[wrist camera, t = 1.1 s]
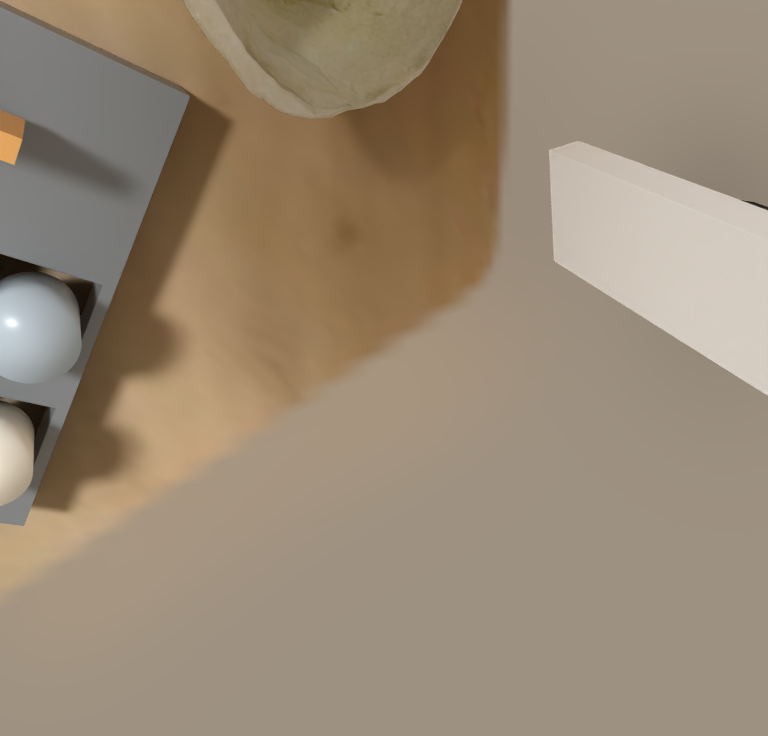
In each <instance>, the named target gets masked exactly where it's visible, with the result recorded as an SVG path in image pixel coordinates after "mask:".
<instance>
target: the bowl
mask: <svg viewBox="0 0 768 736" xmlns="http://www.w3.org/2000/svg"><path fill="white" fill-rule="evenodd" d="M183 1H184V3H185V5H186V7H187V9H188V10H189V12H190V14H191V16H192V17H193V19H194V20H195V22H196V23H197V24H198V25H199V27H200V28H201V29H202V31H203V32H204V34H205V35H206V37H207V38H208V40H209V41H210V42H211V43H212V44H213V46H214V47H215V48H216V49H217V50H218V52H219V53H220V54H221V55H222V56H223V57H224V58H225V60H226V61H227V62H228V64H229V65H230V66H231V68H232V69H233V70H234V72H235V73H236V74H237V76H238V77H239V78H240V80H241V81H242V83H243V84H244V85H245V87H246V88H247V90H248V91H250V92H251V93H252V94H254V95H255V96H256V97H258V98H259V99H264V100H265V101H266V102H267V103H268V104H270V105H271V106H272V107H273V108H275V109H277V110H279V111H281V112H283V113H285V114H288V115H292V116H296V117H301V118H310V119H321V118H332V117H334V116H336V115H338V114H340V113H343V112H345V111H348V110H354V109H360V108H365V107H368V106H370V105H373V104H377V103H383V102H385V101H387V100H388V99H389V98H391V97H392V96H393V95H395V94H396V93H398V92H400V91H401V90H402V89H404V88H405V87H406V86H407V85H408V84H409V83H410V82H411V81H412V80H414V79H415V78H416V77H418V76H419V75H421V73H422V72H423V70H424V69H425V68H426V66H427V65H428V63H429V62H430V60H431V58H432V56H433V55H434V53H435V51H436V50H437V48H438V46H439V45H440V43H441V41H442V40H443V38H444V36H445V35H446V33H447V32H448V30H449V28H450V26H451V24H452V22H453V20H454V18H455V16H456V14H457V13H458V11H459V8H460V6H461V3H462V1H463V0H183Z"/></svg>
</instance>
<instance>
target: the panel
mask: <svg viewBox="0 0 768 736" xmlns="http://www.w3.org/2000/svg"><path fill="white" fill-rule="evenodd" d="M189 99H190V95H189V94H188V93H187V92H186V91H185V90H184V89H183V88H182V87H181V86H179V85H177V84H174V83H172V82H170V81H168V80H166V79H164V78H162V77H160V76H158V75H155V74H153V73H151V72H149V71H147V70H145V69H143V68H141V67H139V66H136V65H134V64H132V63H130V62H128V61H126V60H124V59H122V58H120V57H117V56H115V55H113V54H111V53H109V52H107V51H105V50H103V49H101V48H98V47H96V46H94V45H92V44H90V43H88V42H86V41H84V40H82V39H79V38H77V37H75V36H73V35H71V34H69V33H67V32H65V31H63V30H60V29H58V28H56V27H54V26H52V25H50V24H48V23H46V22H44V21H41V20H39V19H37V18H35V17H33V16H31V15H29V14H27V13H25V12H22V11H20V10H18V9H16V8H14V7H12V6H10V5H8V4H6V3H3V2H1V1H0V110H2V111H5V112H7V113H10V114H12V115H15V116H17V117H20V118H22V119H25V126H24V133H23V139H22V142H21V145H20V149H19V152H18V155H17V158H16V161H15V164H14V165H13V164H10V163H7V162H5V161H2V160H0V254H3V255H6V256H10V257H13V258H16V259H19V260H23V261H26V262H29V263H32V264H36V265H39V266H42V267H46V268H49V269H52V270H55V271H59V272H62V273H65V274H68V275H72V276H75V277H78V278H81V279H85V280H88V281H91V282H94V283H93V286H92V289H91V291H90V294H89V297H88V299H87V302H86V305H85V307H84V310H83V313H82V315H81V318H80V326H81V339H82V346H81V352H80V355H79V357H78V359H77V361H76V363H75V364H74V365H73V366H72V368H71V369H70V370H69V371H67V372H66V373H65V374H63V375H62V376H60V377H58V378H56V379H54V380H51V381H47V382H44V383H35V384H28V383H20V382H15V381H12V380H9V379H6V378H4V377H2V376H0V397H5V398H10V399H14V400H19V401H24V402H29V403H33V404H38V405H43V406H47V408H46V411H45V414H44V416H43V419H42V422H41V424H40V427H39V429H38V432H37V435H36V437H35V440H34V460H33V477H32V480H31V483H30V485H29V487H28V488H27V490H26V491H25V492H24V493H23V494H22V495H21V496H19V497H18V498H17V499H15V500H14V501H12V502H10V503H8V504H5V505H2V506H0V523H5V524H13V525H21V526H24V524H25V522H26V519H27V517H28V514H29V511H30V509H31V506H32V504H33V501H34V498H35V496H36V493H37V491H38V488H39V486H40V483H41V480H42V478H43V475H44V473H45V470H46V468H47V465H48V462H49V460H50V457H51V455H52V452H53V449H54V447H55V444H56V442H57V439H58V437H59V434H60V431H61V429H62V426H63V424H64V421H65V418H66V416H67V413H68V411H69V408H70V406H71V403H72V400H73V398H74V395H75V393H76V390H77V388H78V385H79V382H80V380H81V377H82V375H83V372H84V369H85V367H86V364H87V362H88V359H89V357H90V354H91V351H92V349H93V346H94V344H95V341H96V339H97V336H98V333H99V331H100V328H101V326H102V323H103V320H104V318H105V315H106V313H107V310H108V308H109V305H110V302H111V300H112V297H113V295H114V292H115V289H116V287H117V284H118V282H119V279H120V277H121V274H122V271H123V269H124V266H125V264H126V261H127V259H128V256H129V253H130V251H131V248H132V246H133V243H134V240H135V238H136V235H137V233H138V230H139V228H140V225H141V222H142V220H143V217H144V215H145V212H146V209H147V207H148V204H149V202H150V199H151V197H152V194H153V191H154V189H155V186H156V184H157V181H158V179H159V176H160V173H161V171H162V168H163V166H164V163H165V160H166V158H167V155H168V153H169V150H170V148H171V145H172V142H173V140H174V137H175V135H176V132H177V130H178V127H179V124H180V122H181V119H182V117H183V114H184V111H185V109H186V106H187V104H188V101H189Z"/></svg>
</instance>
